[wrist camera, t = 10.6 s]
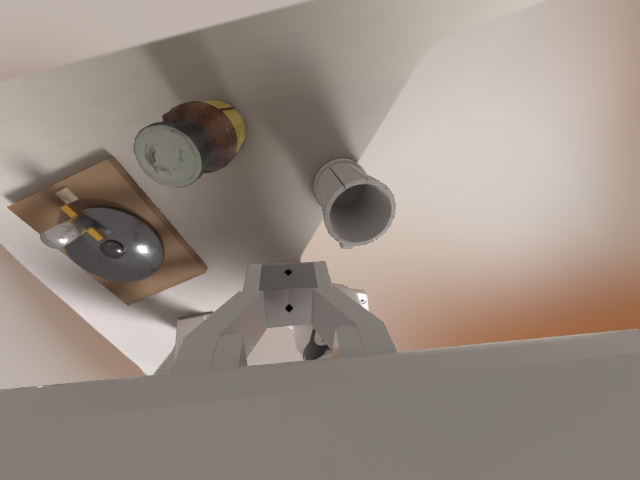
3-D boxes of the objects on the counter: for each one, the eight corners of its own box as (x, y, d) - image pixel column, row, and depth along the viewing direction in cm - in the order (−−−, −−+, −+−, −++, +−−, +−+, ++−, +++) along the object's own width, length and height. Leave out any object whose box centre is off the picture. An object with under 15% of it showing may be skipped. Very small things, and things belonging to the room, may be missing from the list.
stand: (207, 267, 42) (205, 273, 41) (132, 299, 44) (127, 306, 42) (113, 156, 32) (105, 159, 30) (17, 203, 33) (4, 208, 31)
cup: (378, 200, 40) (410, 232, 30) (333, 227, 42) (349, 267, 32) (351, 145, 35) (379, 162, 25) (301, 178, 37) (308, 207, 26)
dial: (182, 258, 39) (166, 283, 34) (117, 288, 40) (92, 317, 35) (110, 182, 32) (75, 198, 26) (33, 221, 33) (-15, 244, 28)
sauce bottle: (190, 128, 31) (81, 156, 14) (215, 88, 30) (124, 66, 13) (233, 161, 34) (184, 218, 17) (259, 126, 32) (232, 151, 15)
